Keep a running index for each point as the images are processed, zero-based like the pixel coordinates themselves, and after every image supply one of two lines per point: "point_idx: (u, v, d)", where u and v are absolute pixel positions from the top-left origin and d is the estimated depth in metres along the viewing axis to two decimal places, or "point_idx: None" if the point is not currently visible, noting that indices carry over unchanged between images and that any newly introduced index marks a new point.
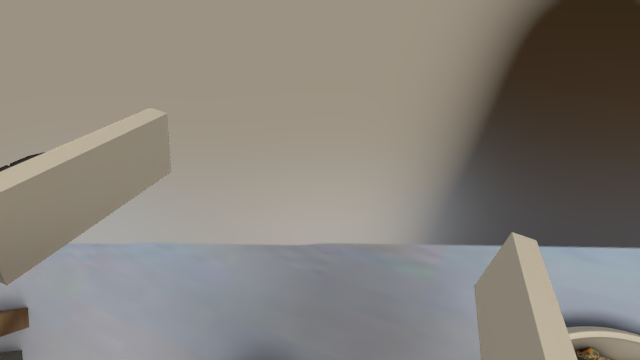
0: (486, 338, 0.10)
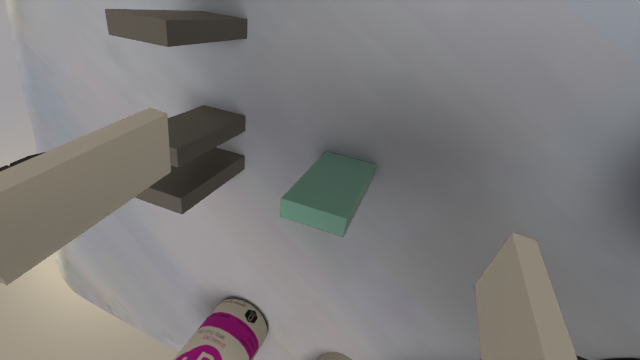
0: (486, 338, 0.10)
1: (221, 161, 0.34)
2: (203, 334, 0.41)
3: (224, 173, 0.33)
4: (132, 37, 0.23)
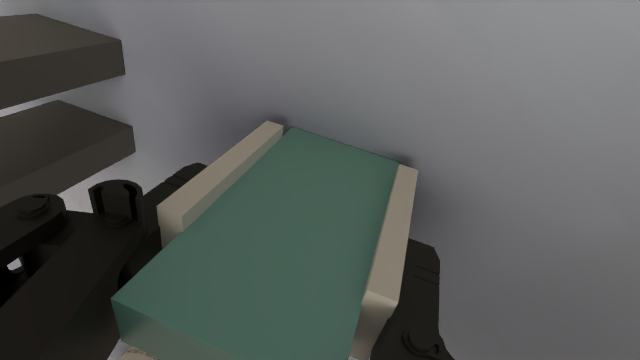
0: None
1: (72, 137, 0.16)
2: None
3: (70, 164, 0.15)
4: None
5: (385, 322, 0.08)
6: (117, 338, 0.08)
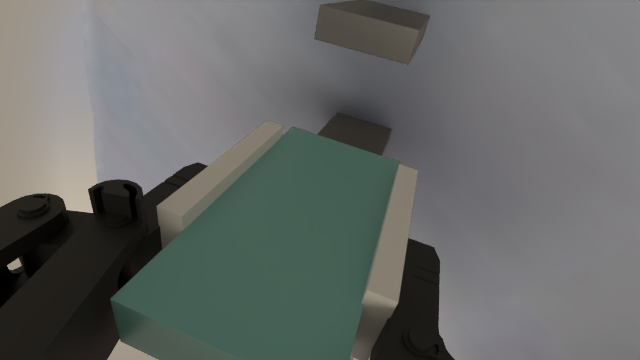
0: None
1: None
2: None
3: None
4: (352, 46, 0.17)
5: (385, 322, 0.08)
6: (117, 338, 0.08)
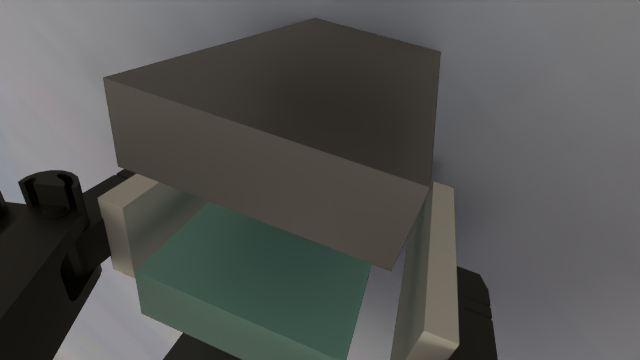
0: (406, 269, 0.12)
1: None
2: None
3: None
4: (222, 200, 0.06)
5: None
6: (67, 329, 0.08)
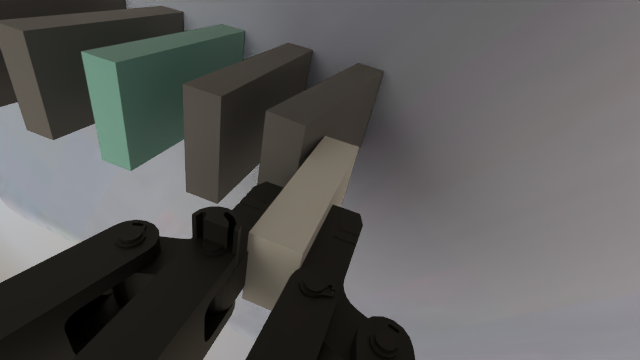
0: None
1: None
2: None
3: (342, 78, 0.17)
4: (39, 98, 0.15)
5: None
6: None
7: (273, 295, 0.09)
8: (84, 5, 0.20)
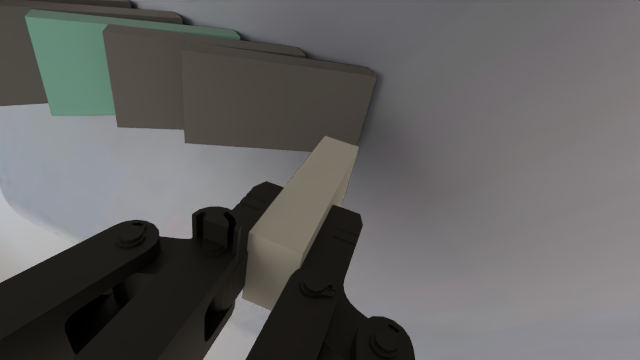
0: None
1: None
2: None
3: (307, 61, 0.18)
4: None
5: None
6: None
7: (273, 295, 0.09)
8: None
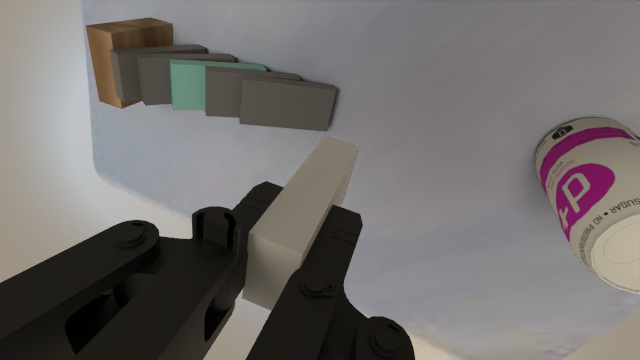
0: None
1: None
2: (549, 190, 0.29)
3: (301, 82, 0.36)
4: (143, 86, 0.35)
5: None
6: None
7: (273, 295, 0.09)
8: None
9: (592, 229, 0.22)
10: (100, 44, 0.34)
